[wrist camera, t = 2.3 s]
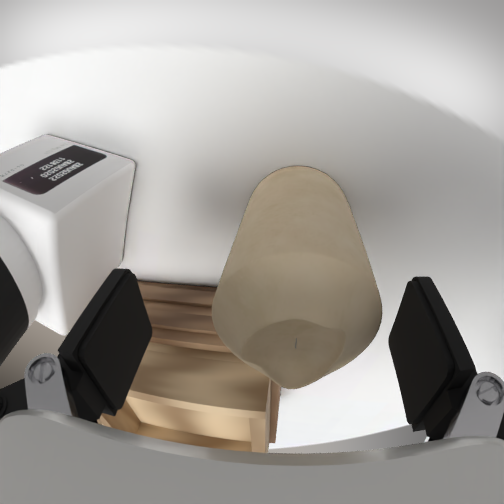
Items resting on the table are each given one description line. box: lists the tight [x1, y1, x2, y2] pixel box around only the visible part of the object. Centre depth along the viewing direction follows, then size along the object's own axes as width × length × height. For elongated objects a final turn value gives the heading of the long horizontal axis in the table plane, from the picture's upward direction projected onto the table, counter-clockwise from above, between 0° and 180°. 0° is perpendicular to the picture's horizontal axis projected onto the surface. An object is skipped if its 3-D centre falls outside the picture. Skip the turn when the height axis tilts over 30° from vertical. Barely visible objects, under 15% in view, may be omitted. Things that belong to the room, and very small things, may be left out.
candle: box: [212, 166, 382, 389], centre depth 12 cm, size 6×6×10 cm
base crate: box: [137, 281, 281, 443], centre depth 22 cm, size 13×13×5 cm
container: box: [0, 135, 135, 366], centre depth 12 cm, size 8×8×13 cm
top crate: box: [100, 342, 272, 453], centre depth 18 cm, size 12×12×4 cm
